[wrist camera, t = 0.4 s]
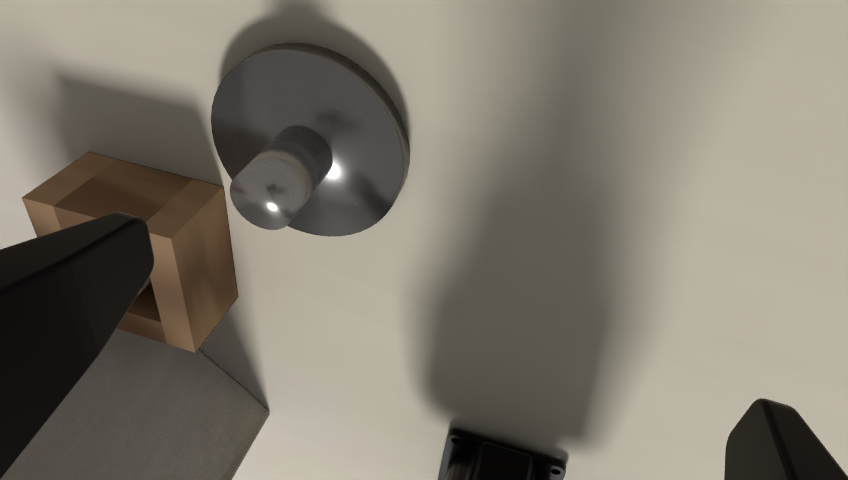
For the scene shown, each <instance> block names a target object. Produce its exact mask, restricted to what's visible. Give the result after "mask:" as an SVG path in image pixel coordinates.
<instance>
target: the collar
mask: <svg viewBox="0 0 848 480" xmlns="http://www.w3.org/2000/svg"><path fill="white" fill-rule="evenodd" d="M22 199H23V202H24V204H25V207H26V209H27V212H28V215H29V217H30V220H31V222H32V225H33V227H34V230H35V232H36V235H37V237H40V236H43V235H47V234H50V233H53V232H56V231H59V230H62V229H65V228H68V227H71V226H74V225H77V224H80V223H83V222H86V221H89V220H92V219H96V218H99V217H102V216H105V215H108V214H111V213H114V212H123V213H127V214H130V215H134V216H137V217H140V218H142V219H144V221H145V222H146V223H147V226H148V230H149V235H150V239H151V244H152V249H153V254H154V267H153V270H152V272H151V274H150V279H151V282H150V283H149V284H148V285H147V286H146V287H145V288H144V289H143V290H142V292H141V293H140V294H139V295H138V296H137V297H136V298H135V300H134V301H133V303H132V305H131V306H130V308H129V309H128V311H127V312H126V314H125V316H124V317H123V319H122V320H121V322H120V323H119V325H118V327H117V328H116V329H119V330H122V331H126V332H129V333H132V334H135V335H139V336H142V337H145V338H149V339H152V340H155V341H158V342H162V343H165V344H168V345H171V346H175V347H178V348H181V349H184V350H188V351H191V352H194V353H196V351H197V350H198V349H199V347H200V346H201V345H202V343H203V342H204V341H205V340H206V338H207V337H208V336H209V334H210V333H211V332H212V330H213V329H214V328H215V327H216V325H217V324H218V323H219V321H220V320H221V319H222V317H223V316H224V315H225V314H226V312H227V311H228V310H229V308H230V307H231V306H232V304H233V303H234V302H235V301H236V299H237V298H238V293H237V285H236V278H235V270H234V263H233V255H232V248H231V240H230V233H229V225H228V218H227V210H226V203H225V195H224V188H223V187H222V186H218V185H214V184H210V183H206V182H202V181H199V180H195V179H191V178H187V177H183V176H179V175H175V174H171V173H167V172H164V171H160V170H156V169H152V168H148V167H144V166H140V165H136V164H133V163H129V162H125V161H121V160H117V159H113V158H109V157H105V156H101V155H98V154H94V153H90V152H88V153H86V154H85V155H83V156H82V157H80V158H79V159H77V160H76V161H74V162H73V163H72V164H70V165H69V166H67V167H66V168H64V169H63V170H61V171H60V172H58V173H57V174H56V175H54V176H53V177H51V178H50V179H48V180H47V181H45V182H44V183H42V184H41V185H40V186H38V187H37V188H35V189H34V190H32V191H31V192H29V193H28V194H26V195H25V196H23V197H22Z"/></svg>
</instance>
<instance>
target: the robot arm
mask: <svg viewBox="0 0 848 480" xmlns="http://www.w3.org/2000/svg"><path fill="white" fill-rule="evenodd" d="M153 267H154V254H153V249H152V244H151V239H150V235H149V230H148V226H147V223H146V222H145V221H144V219H142V218H140V217H137V216H134V215H130V214H127V213H123V212H114V213H111V214H108V215H105V216H102V217H99V218H96V219H92V220H89V221H86V222H83V223H80V224H77V225H74V226H71V227H68V228H65V229H62V230H59V231H56V232H53V233H50V234H47V235H43V236H40V237H37V238H34V239H31V240H28V241H25V242H22V243H19V244H16V245H13V246H10V247H7V248H4V249H1V250H0V479H1V478H2V477H3V476H4V474H5V473H6V472H7V471H8V469H9V468H10V467H11V466H12V464H13V463H14V462H15V460H16V459H17V458H18V457H19V455H20V454H21V453H22V452H23V450H24V449H25V448H26V447H27V445H28V444H29V443H30V442H31V440H32V439H33V438H34V436H35V435H36V434H37V433H38V431H39V430H40V429H41V428H42V426H43V425H44V424H45V423H46V421H47V420H48V419H49V418H50V416H51V415H52V414H53V413H54V411H55V410H56V409H57V407H58V406H59V405H60V404H61V402H62V401H63V400H64V399H65V397H66V396H67V395H68V394H69V392H70V391H71V390H72V389H73V387H74V386H75V385H76V384H77V382H78V381H79V380H80V378H81V377H82V376H83V375H84V373H85V372H86V371H87V370H88V368H89V367H90V366H91V365H92V363H93V362H94V361H95V359H96V358H97V357H98V355H99V354H100V352H101V351H102V349H103V348H104V347H105V345H106V344H107V342H108V341H109V339H110V338H111V336H112V334H113V333H114V331H115V330H116V328H117V327H118V325H119V323H120V322H121V320H122V319H123V317H124V316H125V314H126V312H127V311H128V309H129V308H130V306H131V305H132V303H133V301H134V300H135V298H136V297H137V295H138V293H139V292H140V290H141V289H142V287H143V286H144V284H145V282H146V281H147V279H148V278H149V276H150V274H151V272H152V270H153ZM565 472H566V465H565V464H564V463H563V462H562V461H559V460H556V459H553V458H550V457H546V456H543V455H540V454H537V453H533V452H530V451H527V450H524V449H520V448H517V447H514V446H510V445H507V444H504V443H501V442H497V441H494V440H491V439H488V438H484V437H481V436H478V435H474V434H471V433H468V432H465V431H461V430H458V429H452V430H450V431H449V433H448V436H447V440H446V445H445V449H444V454H443V459H442V463H441V468H440V472H439V477H438V480H563V478H564V476H565ZM724 480H848V476H847V475H846V474H845V472H844V471H843V470H842V469H841V467H840V466H839V465H838V463H837V462H836V461H835V460H834V458H833V457H832V456H831V454H830V453H829V452H828V451H827V449H826V448H825V447H824V445H823V444H822V443H821V442H820V440H819V439H818V438H817V436H816V435H815V434H814V433H813V431H812V430H811V429H810V427H809V426H808V425H807V424H806V422H805V421H804V420H803V418H802V417H801V416H800V415H799V413H798V412H797V411H796V410H795V409H794V408H792V407H790V406H788V405H785V404H782V403H778V402H775V401H771V400H768V399H758V400H756V401H754V403H753V404H752V405H751V406H750V407H749V409H748V410H747V411H746V413H745V414H744V415H743V417H742V418H741V419H740V421H739V422H738V423H737V425H736V426H735V427H734V429H733V430H732V432H731V433H730V435H729V437H728V440H727V445H726V455H725V477H724Z"/></svg>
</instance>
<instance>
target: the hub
mask: <svg viewBox="0 0 848 480" xmlns="http://www.w3.org/2000/svg"><path fill="white" fill-rule="evenodd" d="M211 126H212V134H213V139H214V143H215V146H216V149H217V152H218V155H219V157H220V159H221V162H222V164H223V166H224V168H225V169H226V171H227V173H228V175H229V176H230V178H231V179H232V183H231V186H230V195H231V199H232V202H233V204H234V206H235V207H236V209H237V210H238V212H239V213H240V214H241V215H242V216H243V217H244V218H245V219H246V220H248V221H249V222H251V223H252V224H254V225H256V226H258V227H261V228H264V229H269V230H277V229H281V228H284V227H285V226H289V227H291V228H294V229H296V230H299V231H302V232H306V233H310V234H314V235H321V236H344V235H351V234H354V233H358V232H361V231H363V230H365V229H367V228H370V227H371V226H373V225H374V224H376V223H377V222H378V221H380V220H381V219H382V218H383V217H384V216H385V215H386V214H387V212H388V211H389V210H390V208H391V207H392V205H393V204H394V202H395V200H396V198H397V197H398V195H399V193H400V191H401V189H402V187H403V186H404V183H405V180H406V177H407V173H408V168H409V145H408V138H407V134H406V130H405V127H404V124H403V122H402V119H401V117H400V115H399V113H398V111H397V109H396V107H395V105H394V103H393V102H392V101H391V99H390V98H389V96H388V95H387V93H386V92H385V91H384V90H383V88H382V87H381V86H380V85H379V84H378V83H377V82H376V80H375V79H373V78H372V77H371V76H370V75H369V74H368V73H367V72H366V71H365V70H363V69H362V68H361V67H359V66H358V65H356V64H355V63H354V62H352V61H350V60H349V59H347V58H345V57H343V56H342V55H340V54H338V53H335V52H333V51H330V50H328V49H325V48H322V47H318V46H314V45H309V44H302V43H284V44H278V45H273V46H270V47H267V48H263V49H261V50H260V51H258V52H256V53H254V54H252V55H251V56H250V57H248V58H247V59H245V60H244V61H243V62H241V63H240V64H239V65H237V66H236V67H235V68H233V69H232V70H231V71H230V72H229V73H228V74H227V75H226V76H225V78H224V79H223V80H222V82H221V84H220V85H219V87H218V89H217V92H216V94H215V97H214V101H213V105H212V113H211Z"/></svg>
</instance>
